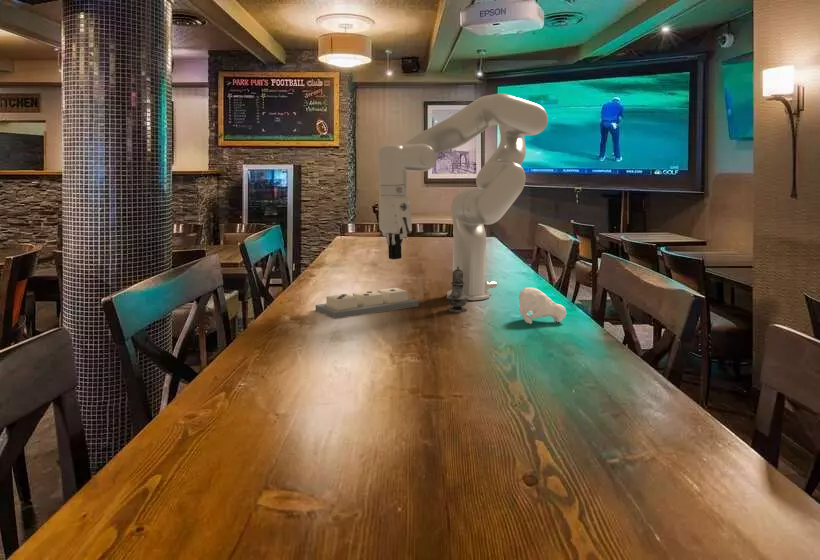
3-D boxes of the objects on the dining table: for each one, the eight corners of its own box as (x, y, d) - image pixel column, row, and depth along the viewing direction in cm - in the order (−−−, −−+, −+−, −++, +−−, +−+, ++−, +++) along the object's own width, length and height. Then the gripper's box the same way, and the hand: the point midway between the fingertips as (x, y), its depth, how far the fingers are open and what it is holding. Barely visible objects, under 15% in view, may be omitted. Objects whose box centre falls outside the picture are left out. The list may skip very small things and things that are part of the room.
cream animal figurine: (519, 284, 157) (567, 290, 156) (515, 316, 158) (562, 322, 157) (520, 289, 151) (570, 295, 149) (516, 322, 152) (565, 329, 151)
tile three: (346, 308, 168) (346, 293, 167) (357, 312, 163) (357, 296, 162) (326, 310, 164) (326, 295, 164) (337, 315, 159) (337, 299, 159)
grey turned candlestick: (466, 313, 163) (468, 268, 161) (444, 312, 164) (445, 267, 162) (469, 308, 169) (470, 264, 167) (447, 307, 170) (448, 264, 168)
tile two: (371, 304, 172) (371, 290, 171) (383, 308, 167) (383, 293, 167) (352, 307, 169) (352, 292, 168) (364, 311, 164) (363, 296, 163)
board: (315, 310, 165) (315, 304, 165) (396, 299, 180) (396, 294, 180) (335, 318, 156) (334, 312, 156) (418, 306, 171) (418, 300, 171)
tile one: (395, 301, 177) (395, 286, 176) (407, 305, 172) (407, 290, 171) (377, 303, 173) (377, 289, 173) (389, 307, 168) (389, 292, 168)
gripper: (420, 191, 163) (422, 260, 167) (389, 190, 175) (391, 254, 179) (396, 193, 159) (398, 263, 162) (367, 191, 171) (369, 257, 175)
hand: (395, 258), depth 171 cm, fingers closed
